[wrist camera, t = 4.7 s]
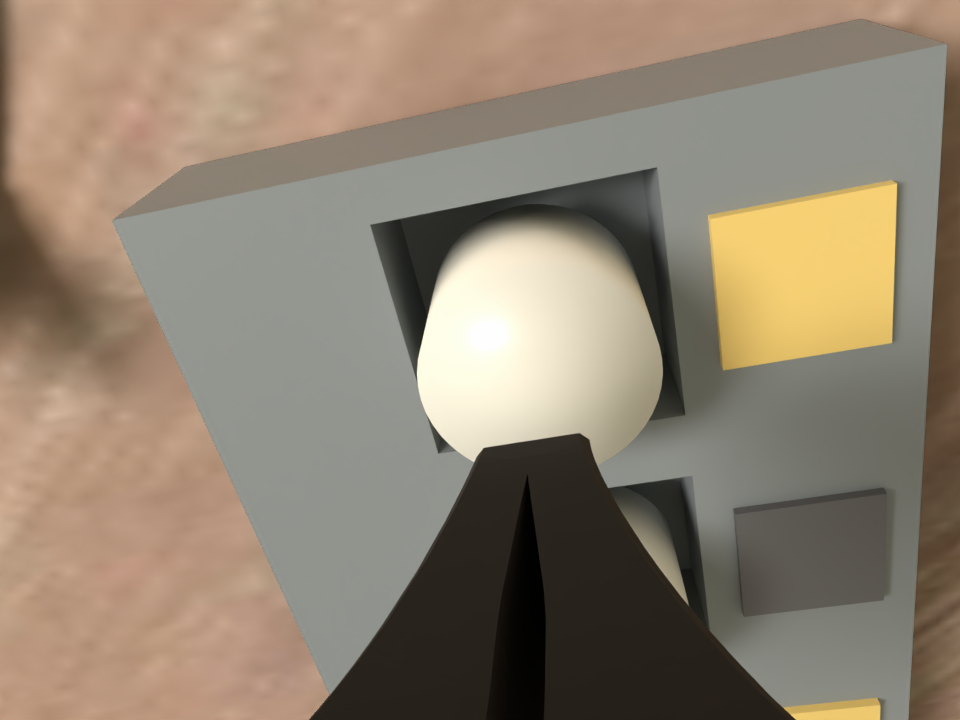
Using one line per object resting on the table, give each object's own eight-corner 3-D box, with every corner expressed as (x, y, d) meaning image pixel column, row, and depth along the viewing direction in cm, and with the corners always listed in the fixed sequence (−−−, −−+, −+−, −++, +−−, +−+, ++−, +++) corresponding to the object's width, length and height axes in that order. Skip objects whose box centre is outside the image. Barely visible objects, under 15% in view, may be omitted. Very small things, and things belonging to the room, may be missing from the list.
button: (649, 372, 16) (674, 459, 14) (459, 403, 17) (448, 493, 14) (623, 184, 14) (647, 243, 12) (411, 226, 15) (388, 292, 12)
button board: (854, 704, 24) (905, 824, 21) (417, 749, 26) (403, 864, 23) (860, 18, 15) (953, 45, 12) (184, 167, 17) (106, 224, 14)
